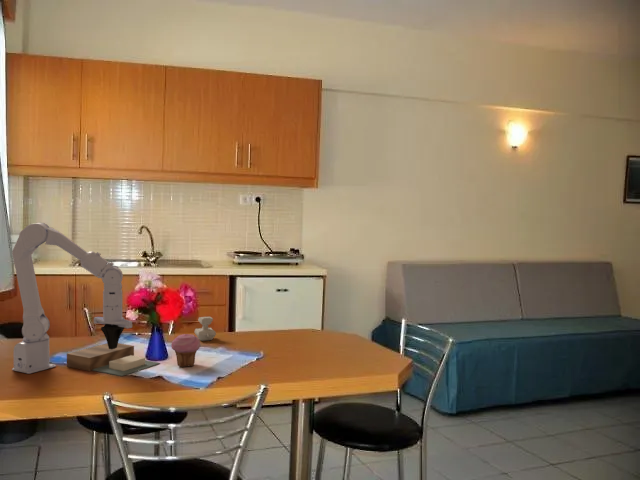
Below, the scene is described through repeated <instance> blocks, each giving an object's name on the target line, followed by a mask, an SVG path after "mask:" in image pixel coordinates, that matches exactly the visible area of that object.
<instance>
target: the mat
mask: <svg viewBox="0 0 640 480" xmlns="http://www.w3.org/2000/svg"><path fill="white" fill-rule="evenodd" d="M160 364H161V363H160V362H157V361H152V360H151V361H150V360H146V359H145V364H144V365H141V366H138V367H135V368H132V369H129V370H125V371H121V370H116V369H111V368H109V365H106V366H102V367H99V368H95V369H92V372H93V371H94V372H99V373H104V374H107V375H112V376H118V377H123V376H127V375H131V374H133V373H136V372H135V371H137V372H139V371H138V370H140V371H142V370H141V369H143V370H146V369H149V368H152V367H154V366H158V365H160ZM145 368H146V369H145Z"/></svg>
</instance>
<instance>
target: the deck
mask: <svg viewBox="0 0 640 480" xmlns="http://www.w3.org/2000/svg"><path fill="white" fill-rule="evenodd" d="M130 355H132V356H135V346H134V345H133V344H132V345H130V344H125V343H119V342H118V345H117V348H115V349H109V347H108V344H107V342H106V343H103V344H99V345H95V346H91V347H88V348H84V349H79V350H76V351H72V352H68V353H66V367H69V368H72V369H76V370H77V369H78V370H83V371H86V372H87V371H88V372H90V371H92V372H93V370H92V369H95V368H99V367H102V366H106V365H109V362H110V361H113V360H117V359H120V358H123V357H127V356H130Z"/></svg>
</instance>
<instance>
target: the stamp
mask: <svg viewBox="0 0 640 480" xmlns="http://www.w3.org/2000/svg"><path fill="white" fill-rule="evenodd" d="M213 320H214V318H213V317H211V316H201V317H200V316H198V320H197V321H198V322H199V323H200V325H201V326H202V327H200V328H195V329H194V334H195V336H196V337H197V338H198V339H199V340H200V342H201V341H202V342H205V341H206V342H207V341H212V340H213V339H214V338H215V336H216V335H217V334H216V333H217V332H216V330H214V329H213V328H212V327H209V325H211V324H212V322H213Z"/></svg>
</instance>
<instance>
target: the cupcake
mask: <svg viewBox="0 0 640 480" xmlns="http://www.w3.org/2000/svg"><path fill="white" fill-rule="evenodd" d="M200 348H201V340H200V339H199V338H198V337H197V336H196V335H194V334H190V333H189V334H188V333H183V334H179V335H178V336H176V337H175V338H174V339H173V340H172V342H171V349H172V350H173V351H174V352H175V356H176V364H177V366H178V367H180V368H181V367H182V368H184V367H194V366H195V362H196V354H197V351H198V350H199V349H200Z"/></svg>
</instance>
